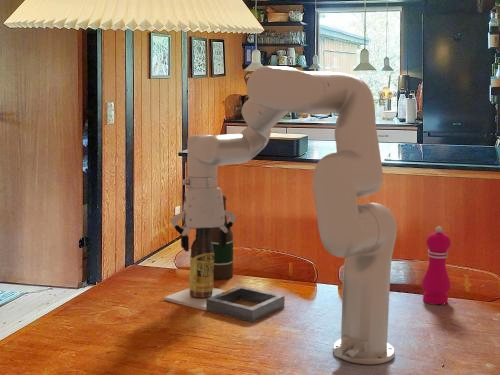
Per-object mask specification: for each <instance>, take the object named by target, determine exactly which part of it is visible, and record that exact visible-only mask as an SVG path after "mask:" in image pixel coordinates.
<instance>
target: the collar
mask: <svg viewBox="0 0 500 375" xmlns="http://www.w3.org/2000/svg"><path fill="white" fill-rule="evenodd" d="M285 298H286V297H285V295H284V294H279V293H274V292H269V291H265V290H260V289H257V288H256V289H255V288H251V287H247V286H241V285H238V286H235V287H233V288H230V289H227V290H225V291H224V292H222V293H220V294H218V295H215V296H213V297H210V298H208V299H206V310H205V311H206V312H210V313H214V314H218V315H222V316H225V317H230V318H232V319H233V318H234V319H236V320H241V321H245V322H249V323H254V322H257V321H259V320H261V319H264V318H265V317H267V316H270V315H272V314H274V313H275V312H278V311H280V310H281V309H284V308H285V302H286V301H285V300H286V299H285ZM240 300H243V301H245V302H246V301H247V302H250V303H251V302H252V303H256V305H254V306H247V305H243V304H238V303H235V302H237V301H240Z"/></svg>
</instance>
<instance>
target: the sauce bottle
mask: <svg viewBox="0 0 500 375" xmlns="http://www.w3.org/2000/svg"><path fill="white" fill-rule="evenodd" d="M194 237H195V239H194V240H193V241H192V244H191V247H190V256H189V258H190V259H189V281H188V282H189V283H188V285H189V286H188V288H189V289H190V296H192V297H194V298H207V297H210V296H212V290H213V288H214V279H213V275H214V250H213V244H212V242H211V239H210V228H199V229H195V236H194Z"/></svg>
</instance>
